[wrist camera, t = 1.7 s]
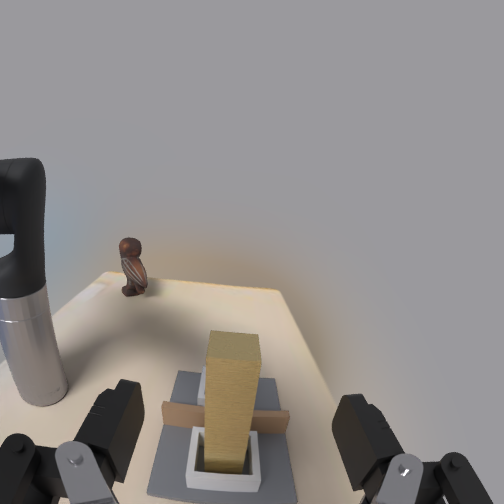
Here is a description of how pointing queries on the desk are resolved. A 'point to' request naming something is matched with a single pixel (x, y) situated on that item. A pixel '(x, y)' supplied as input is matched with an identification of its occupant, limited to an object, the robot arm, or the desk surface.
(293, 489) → the plate
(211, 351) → the post
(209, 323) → the desk surface
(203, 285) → the desk surface
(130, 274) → the figurine
